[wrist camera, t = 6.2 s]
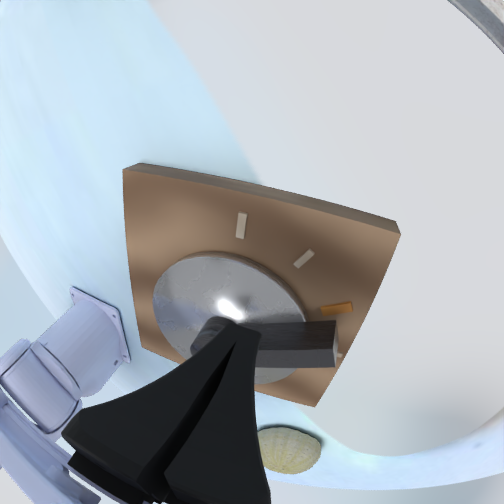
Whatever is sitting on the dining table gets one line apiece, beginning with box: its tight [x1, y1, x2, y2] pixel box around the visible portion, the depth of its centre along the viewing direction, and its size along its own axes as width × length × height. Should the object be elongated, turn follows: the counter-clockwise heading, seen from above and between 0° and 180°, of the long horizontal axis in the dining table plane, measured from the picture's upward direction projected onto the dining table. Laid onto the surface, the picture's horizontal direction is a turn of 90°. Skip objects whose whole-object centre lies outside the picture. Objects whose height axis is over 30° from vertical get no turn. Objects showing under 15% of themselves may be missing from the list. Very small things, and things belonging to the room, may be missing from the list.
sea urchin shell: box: [257, 427, 321, 474], centre depth 30 cm, size 9×8×8 cm
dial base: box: [123, 163, 401, 407], centre depth 22 cm, size 18×18×2 cm
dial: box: [153, 251, 339, 384], centre depth 19 cm, size 14×12×4 cm
